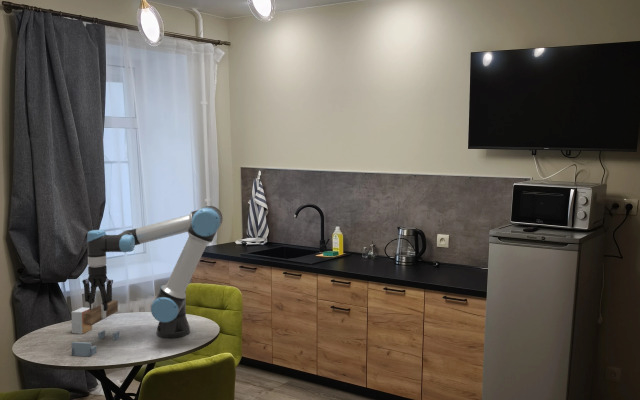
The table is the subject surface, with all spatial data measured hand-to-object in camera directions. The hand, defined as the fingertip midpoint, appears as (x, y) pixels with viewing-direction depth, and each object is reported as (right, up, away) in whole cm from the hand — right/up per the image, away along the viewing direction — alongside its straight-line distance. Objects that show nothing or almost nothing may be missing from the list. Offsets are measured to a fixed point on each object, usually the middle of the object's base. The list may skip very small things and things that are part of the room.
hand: (98, 317), depth 247 cm
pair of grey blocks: (+1, -11, +9) cm, 14 cm away
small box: (-15, -11, +19) cm, 27 cm away
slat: (0, 0, +2) cm, 2 cm away
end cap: (-2, -13, -11) cm, 17 cm away
